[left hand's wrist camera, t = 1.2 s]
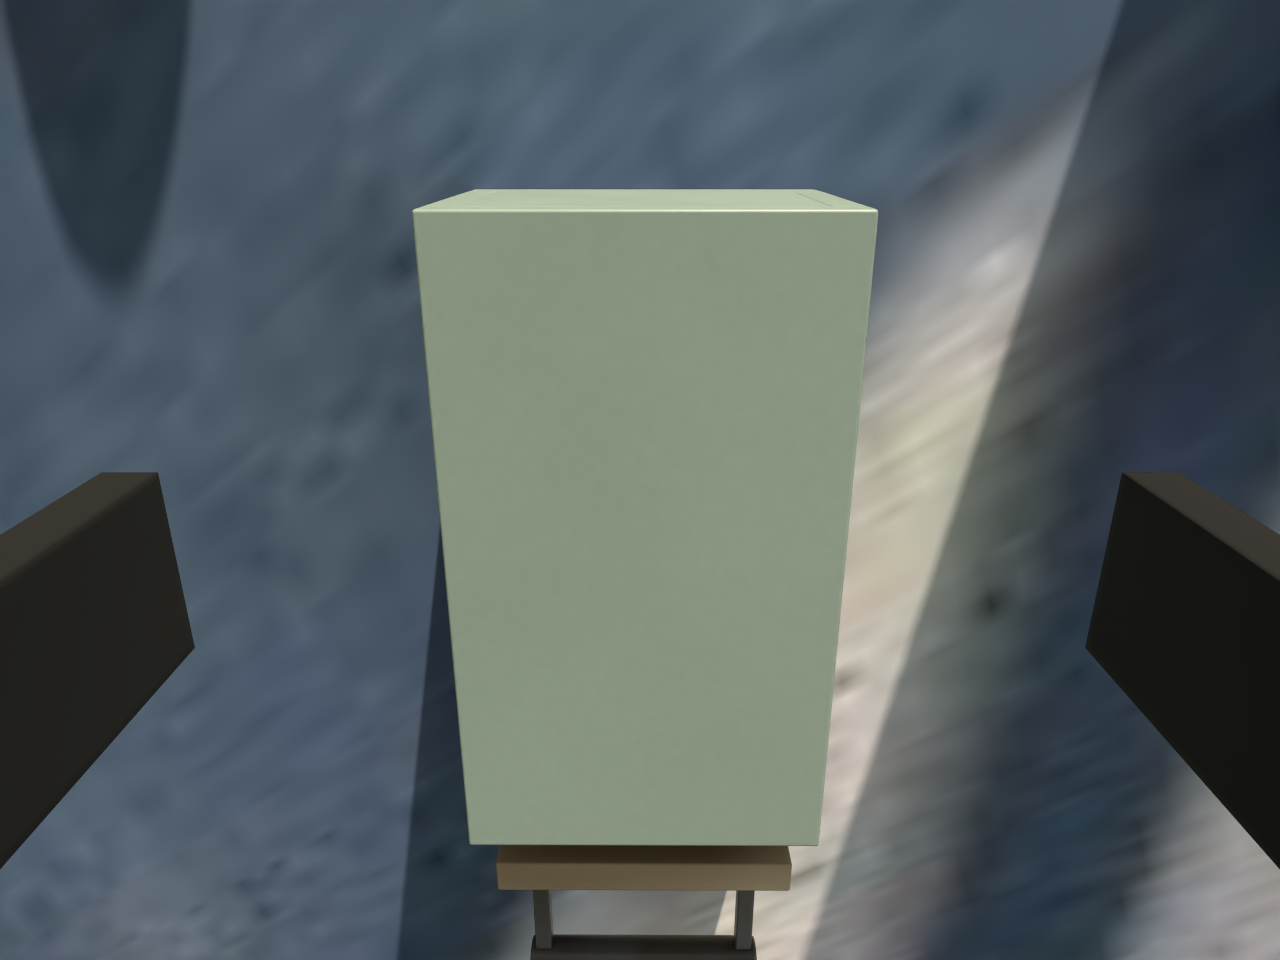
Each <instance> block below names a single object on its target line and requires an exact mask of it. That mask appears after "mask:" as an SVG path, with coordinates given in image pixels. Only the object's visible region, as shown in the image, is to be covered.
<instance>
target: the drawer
mask: <svg viewBox="0 0 1280 960" xmlns="http://www.w3.org/2000/svg"><path fill="white" fill-rule="evenodd" d="M791 867H792V864H791V859H790V854H789V849H788V846H694V845H500V846H499V851H498V856H497V861H496V870H497V883H498V889H499V890H533V900H534V917H535V934H536V935H534V937H533V941H532V947H531V960H757V957H756V946H755V940H754V937H753V936H752V923H753V907H754V891H755V890H758V891H788V890H789V889H790V880H791ZM551 890H736V906H735V925H734V935H553V920H552V899H551Z"/></svg>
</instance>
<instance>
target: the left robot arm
mask: <svg viewBox="0 0 1280 960" xmlns="http://www.w3.org/2000/svg"><path fill="white" fill-rule="evenodd" d="M194 648H195V647H194V642H193V637H192V633H191V628H190V623H189V618H188V614H187V609H186V604H185V599H184V595H183V590H182V585H181V580H180V576H179V571H178V566H177V561H176V557H175V552H174V547H173V542H172V538H171V533H170V528H169V523H168V519H167V514H166V509H165V504H164V500H163V495H162V490H161V485H160V481H159V476H158V473H100V474H98V475H97V476H95V477H93V478H92V479H90V480H89V481H87V482H85V483H84V484H82V485H81V486H79V487H77V488H76V489H74V490H72V491H71V492H69V493H68V494H66V495H64V496H63V497H61V498H59V499H58V500H56V501H55V502H53V503H51V504H50V505H48V506H46V507H45V508H43V509H42V510H40V511H38V512H37V513H35V514H33V515H32V516H30V517H29V518H27V519H25V520H24V521H22V522H21V523H19V524H17V525H16V526H14V527H12V528H11V529H9V530H8V531H6V532H4V533H3V534H1V535H0V869H1V868H2V867H3V865H4V864H5V863H6V862H7V861H8V860H9V859H10V857H11V856H12V855H13V854H14V853H15V852H16V851H17V849H18V848H19V847H20V846H21V845H22V844H23V843H24V841H25V840H26V839H27V838H28V837H29V836H30V835H31V834H32V832H33V831H34V830H35V829H36V828H37V827H38V826H39V824H40V823H41V822H42V821H43V820H44V819H45V818H46V816H47V815H48V814H49V813H50V812H51V811H52V810H53V808H54V807H55V806H56V805H57V804H58V803H59V802H60V800H61V799H62V798H63V797H64V796H65V795H66V794H67V793H68V791H69V790H70V789H71V788H72V787H73V786H74V785H75V783H76V782H77V781H78V780H79V779H80V778H81V777H82V775H83V774H84V773H85V772H86V771H87V770H88V769H89V767H90V766H91V765H92V764H93V763H94V762H95V761H96V759H97V758H98V757H99V756H100V755H101V754H102V753H103V752H104V750H105V749H106V748H107V747H108V746H109V745H110V744H111V742H112V741H113V740H114V739H115V738H116V737H117V736H118V734H119V733H120V732H121V731H122V730H123V729H124V728H125V726H126V725H127V724H128V723H129V722H130V721H131V720H132V718H133V717H134V716H135V715H136V714H137V713H138V712H139V710H140V709H141V708H142V707H143V706H144V705H145V704H146V703H147V701H148V700H149V699H150V698H151V697H152V696H153V695H154V693H155V692H156V691H157V690H158V689H159V688H160V687H161V685H162V684H163V683H164V682H165V681H166V680H167V679H168V677H169V676H170V675H171V674H172V673H173V672H174V671H175V669H176V668H177V667H178V666H179V665H180V664H181V663H182V662H183V660H184V659H185V658H186V657H187V656H188V655H189V654H190V652H191V651H192V650H193V649H194ZM1085 648H1086V649H1087V650H1088V651H1089V652H1090V654H1091V655H1092V656H1093V657H1094V658H1095V659H1096V660H1097V662H1098V663H1099V664H1100V665H1101V666H1102V667H1103V668H1104V669H1105V671H1106V672H1107V673H1108V674H1109V675H1110V676H1111V677H1112V679H1113V680H1114V681H1115V682H1116V683H1117V684H1118V685H1119V687H1120V688H1121V689H1122V690H1123V691H1124V692H1125V693H1126V695H1127V696H1128V697H1129V698H1130V699H1131V700H1132V701H1133V703H1134V704H1135V705H1136V706H1137V707H1138V708H1139V709H1140V711H1141V712H1142V713H1143V714H1144V715H1145V716H1146V717H1147V718H1148V720H1149V721H1150V722H1151V723H1152V724H1153V725H1154V726H1155V728H1156V729H1157V730H1158V731H1159V732H1160V733H1161V734H1162V736H1163V737H1164V738H1165V739H1166V740H1167V741H1168V742H1169V744H1170V745H1171V746H1172V747H1173V748H1174V749H1175V750H1176V752H1177V753H1178V754H1179V755H1180V756H1181V757H1182V758H1183V759H1184V761H1185V762H1186V763H1187V764H1188V765H1189V766H1190V767H1191V769H1192V770H1193V771H1194V772H1195V773H1196V774H1197V775H1198V777H1199V778H1200V779H1201V780H1202V781H1203V782H1204V783H1205V785H1206V786H1207V787H1208V788H1209V789H1210V790H1211V791H1212V793H1213V794H1214V795H1215V796H1216V797H1217V798H1218V799H1219V800H1220V802H1221V803H1222V804H1223V805H1224V806H1225V807H1226V808H1227V810H1228V811H1229V812H1230V813H1231V814H1232V815H1233V816H1234V818H1235V819H1236V820H1237V821H1238V822H1239V823H1240V824H1241V826H1242V827H1243V828H1244V829H1245V830H1246V831H1247V832H1248V834H1249V835H1250V836H1251V837H1252V838H1253V839H1254V840H1255V841H1256V843H1257V844H1258V845H1259V846H1260V847H1261V848H1262V849H1263V851H1264V852H1265V853H1266V854H1267V855H1268V856H1269V857H1270V859H1271V860H1272V861H1273V862H1274V863H1275V864H1276V865H1277V867H1278V868H1279V869H1280V535H1279V534H1277V533H1276V532H1274V531H1272V530H1271V529H1269V528H1268V527H1266V526H1264V525H1263V524H1261V523H1259V522H1258V521H1256V520H1255V519H1253V518H1251V517H1250V516H1248V515H1247V514H1245V513H1243V512H1242V511H1240V510H1238V509H1237V508H1235V507H1234V506H1232V505H1230V504H1229V503H1227V502H1225V501H1224V500H1222V499H1221V498H1219V497H1217V496H1216V495H1214V494H1212V493H1211V492H1209V491H1208V490H1206V489H1204V488H1203V487H1201V486H1199V485H1198V484H1196V483H1195V482H1193V481H1191V480H1190V479H1188V478H1187V477H1185V476H1183V475H1182V474H1180V473H1122V476H1121V481H1120V485H1119V490H1118V495H1117V500H1116V504H1115V509H1114V514H1113V519H1112V523H1111V528H1110V533H1109V538H1108V542H1107V547H1106V552H1105V557H1104V561H1103V566H1102V571H1101V576H1100V580H1099V585H1098V590H1097V595H1096V599H1095V604H1094V609H1093V614H1092V618H1091V623H1090V628H1089V633H1088V637H1087V642H1086V647H1085Z"/></svg>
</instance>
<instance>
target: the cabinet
mask: <svg viewBox="0 0 1280 960" xmlns="http://www.w3.org/2000/svg"><path fill="white" fill-rule="evenodd" d="M412 216H413V227H414V238H415V249H416V260H417V271H418V282H419V293H420V304H421V315H422V326H423V337H424V348H425V359H426V370H427V381H428V392H429V403H430V414H431V425H432V436H433V447H434V458H435V469H436V480H437V491H438V502H439V513H440V524H441V535H442V546H443V558H444V569H445V580H446V591H447V602H448V613H449V624H450V635H451V646H452V657H453V668H454V679H455V690H456V701H457V712H458V723H459V734H460V745H461V756H462V767H463V778H464V789H465V800H466V811H467V822H468V833H469V842H470V844H471V845H694V846H817V845H818V843H819V833H820V823H821V812H822V802H823V791H824V781H825V770H826V760H827V749H828V738H829V728H830V717H831V707H832V696H833V686H834V675H835V665H836V654H837V644H838V633H839V622H840V612H841V601H842V591H843V580H844V570H845V559H846V549H847V538H848V528H849V517H850V506H851V496H852V485H853V475H854V464H855V454H856V443H857V433H858V422H859V411H860V401H861V390H862V380H863V369H864V359H865V348H866V338H867V327H868V317H869V306H870V295H871V285H872V274H873V264H874V253H875V243H876V232H877V222H878V210H876V209H873V208H870V207H867V206H864V205H861V204H858V203H855V202H852V201H849V200H846V199H843V198H840V197H836V196H833V195H830V194H827V193H824V192H821V191H817V190H473V191H469V192H466V193H463V194H460V195H456V196H453V197H450V198H447V199H444V200H441V201H438V202H435V203H432V204H429V205H426V206H423V207H420V208H417V209H414V210H413V212H412Z"/></svg>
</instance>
